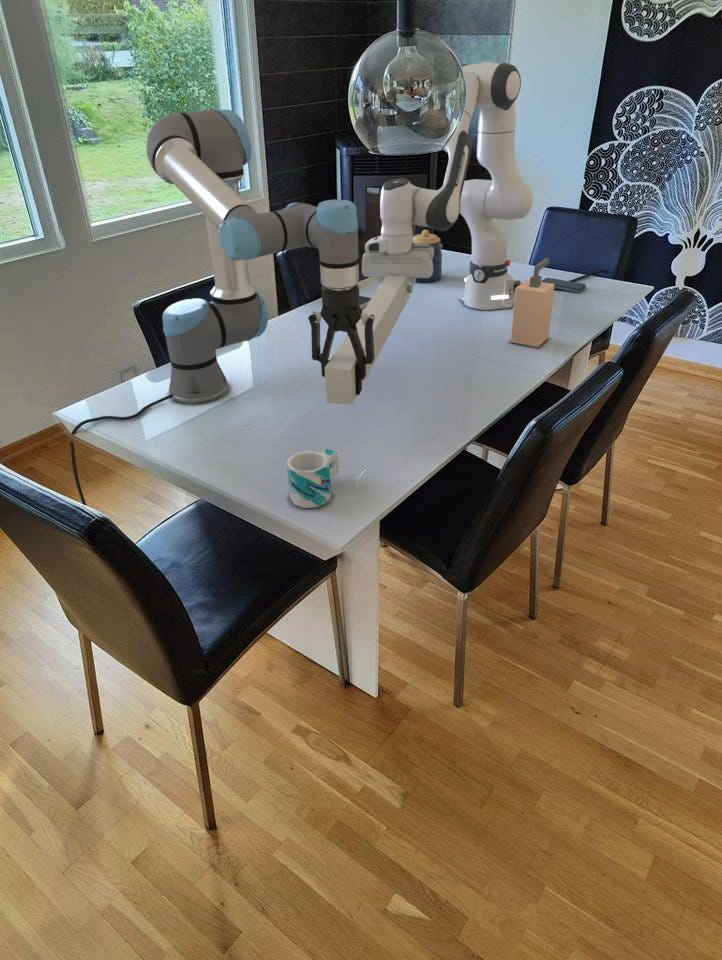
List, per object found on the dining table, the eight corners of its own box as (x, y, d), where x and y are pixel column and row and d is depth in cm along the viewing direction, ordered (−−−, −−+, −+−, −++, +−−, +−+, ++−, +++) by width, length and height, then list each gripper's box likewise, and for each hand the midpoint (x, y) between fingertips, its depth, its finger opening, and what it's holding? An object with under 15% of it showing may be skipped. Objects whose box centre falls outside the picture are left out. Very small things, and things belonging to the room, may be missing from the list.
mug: (282, 500, 133) (278, 464, 129) (317, 472, 142) (314, 437, 137) (316, 512, 129) (313, 475, 125) (350, 482, 138) (348, 447, 133)
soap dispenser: (538, 347, 195) (546, 271, 183) (510, 342, 199) (517, 267, 187) (552, 333, 204) (562, 259, 192) (525, 328, 208) (533, 256, 196)
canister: (414, 284, 250) (415, 235, 241) (403, 275, 261) (403, 227, 251) (446, 280, 253) (448, 231, 243) (434, 271, 264) (435, 224, 254)
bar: (352, 404, 142) (350, 369, 137) (326, 402, 143) (324, 367, 138) (410, 296, 199) (410, 269, 195) (391, 295, 200) (391, 268, 196)
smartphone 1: (374, 298, 234) (349, 310, 224) (374, 302, 235) (349, 314, 224) (356, 295, 238) (331, 307, 227) (356, 298, 238) (331, 310, 228)
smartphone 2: (580, 289, 234) (539, 282, 241) (579, 294, 235) (538, 286, 242) (587, 283, 240) (546, 276, 246) (586, 288, 240) (545, 281, 247)
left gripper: (389, 281, 134) (390, 386, 147) (300, 277, 138) (308, 380, 150) (382, 293, 128) (383, 402, 141) (289, 288, 131) (298, 395, 144)
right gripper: (435, 240, 187) (434, 289, 195) (364, 239, 191) (366, 287, 199) (432, 246, 182) (431, 296, 190) (359, 245, 186) (361, 294, 194)
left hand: (344, 390), depth 146 cm, fingers closed on bar, 6 cm apart
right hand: (397, 292), depth 194 cm, fingers closed on bar, 5 cm apart
